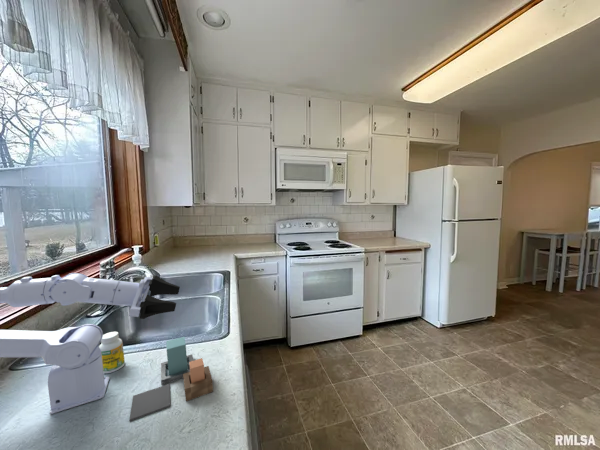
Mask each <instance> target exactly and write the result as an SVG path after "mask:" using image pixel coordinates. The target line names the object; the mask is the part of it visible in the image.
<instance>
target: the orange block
mask: <svg viewBox="0 0 600 450" xmlns="http://www.w3.org/2000/svg"><path fill="white" fill-rule="evenodd" d="M193 360H194V359H193ZM188 363H189V364H188V365H189V369H190V378H191V384H192V383H195V382H198V381H201V380H204V379H205V373H204V367H205V363H204V360H203V357H202V358H201V357H200V358H196V359H195V360H194V361H191V362H189V361H188Z"/></svg>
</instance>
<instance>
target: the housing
mask: <svg viewBox="0 0 600 450" xmlns="http://www.w3.org/2000/svg"><path fill="white" fill-rule="evenodd" d="M204 373H205V379H204V380H201V381H198V382H195V383H192V384H191V378H190V372H188V373H185V374H183V378H182V379H183V388H184V397H185V402H188V401H192V400H194V399H197V398H200V397H202V396H205V395H208V394H211V393H213V392H214V387H213V386H214V384H213V383H214V382H213V377H212V374H211V370H210V366H209V365H207V366H204Z"/></svg>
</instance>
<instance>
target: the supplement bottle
mask: <svg viewBox="0 0 600 450" xmlns="http://www.w3.org/2000/svg"><path fill="white" fill-rule="evenodd" d="M119 335H120V334H119V332H118V331H110V332H107V333H103V337H102V339H101V341H100V343H101V344H100V343H99V348H100V349H101V354H102V363H103V372H104V374H110V373H114V372H116V371H119V370H120V369H121V368H123V366H125V363H126V362H125V361H126V360H125V352H124V343H123V339H122V338H120V336H119Z"/></svg>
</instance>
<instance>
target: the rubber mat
mask: <svg viewBox="0 0 600 450" xmlns="http://www.w3.org/2000/svg"><path fill="white" fill-rule="evenodd" d="M170 386H171V385H170V383H167V384H164V385H161V386H160V387H156V388H154V389H153V388H152V389H149V390H147V391H143V392H141V393H137V394H134V395H133V396H132V402H131V406H130V407H131V408H130V413H129V414H130V415H129V419H128V420H129V422H132V421H135V420H138V419H140V418H143V417H146V416H148V415H151V414H154V413H157V412H160V411H162V410H165V409H167V408H170V407H171V394H170V393H171V391H170V389H171V387H170Z"/></svg>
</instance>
